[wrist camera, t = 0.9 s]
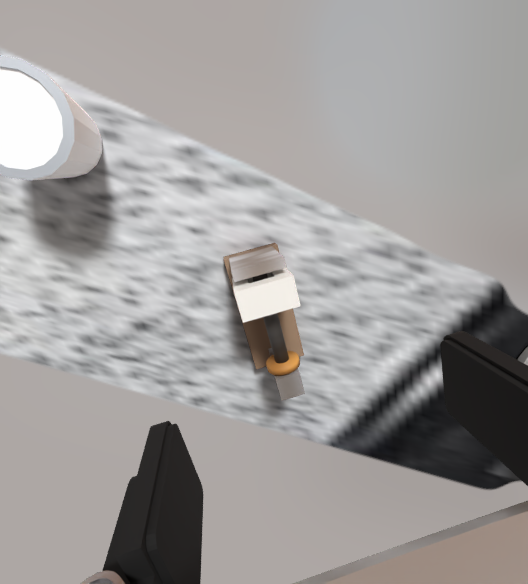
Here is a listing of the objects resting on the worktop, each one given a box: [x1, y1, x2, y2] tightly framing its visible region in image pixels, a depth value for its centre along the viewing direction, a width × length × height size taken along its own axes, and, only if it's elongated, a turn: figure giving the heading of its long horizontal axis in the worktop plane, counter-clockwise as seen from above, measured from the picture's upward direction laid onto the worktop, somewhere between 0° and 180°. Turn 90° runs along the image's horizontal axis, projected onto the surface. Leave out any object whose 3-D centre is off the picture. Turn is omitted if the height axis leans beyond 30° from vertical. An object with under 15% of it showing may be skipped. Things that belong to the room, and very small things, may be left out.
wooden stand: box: [224, 243, 305, 401], centre depth 29 cm, size 5×12×8 cm, turn 14°
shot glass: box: [0, 55, 102, 180], centre depth 23 cm, size 7×7×7 cm
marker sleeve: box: [232, 268, 300, 323], centre depth 25 cm, size 4×2×4 cm, turn 104°
